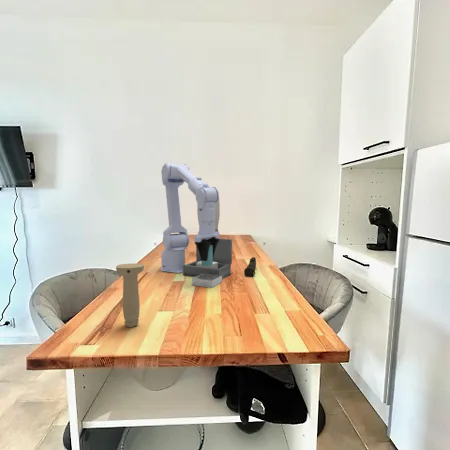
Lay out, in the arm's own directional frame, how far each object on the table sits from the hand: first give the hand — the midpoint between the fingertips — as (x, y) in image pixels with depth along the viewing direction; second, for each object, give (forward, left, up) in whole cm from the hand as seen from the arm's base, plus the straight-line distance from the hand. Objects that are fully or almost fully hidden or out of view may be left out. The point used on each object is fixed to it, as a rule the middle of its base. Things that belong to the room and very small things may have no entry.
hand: (207, 259), depth 115 cm
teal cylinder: (0, 0, -2) cm, 2 cm away
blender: (-24, +46, -9) cm, 53 cm away
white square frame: (0, 0, -9) cm, 9 cm away
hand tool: (+7, +24, -9) cm, 27 cm away
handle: (+1, -40, -9) cm, 41 cm away
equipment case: (-6, +11, -9) cm, 15 cm away
